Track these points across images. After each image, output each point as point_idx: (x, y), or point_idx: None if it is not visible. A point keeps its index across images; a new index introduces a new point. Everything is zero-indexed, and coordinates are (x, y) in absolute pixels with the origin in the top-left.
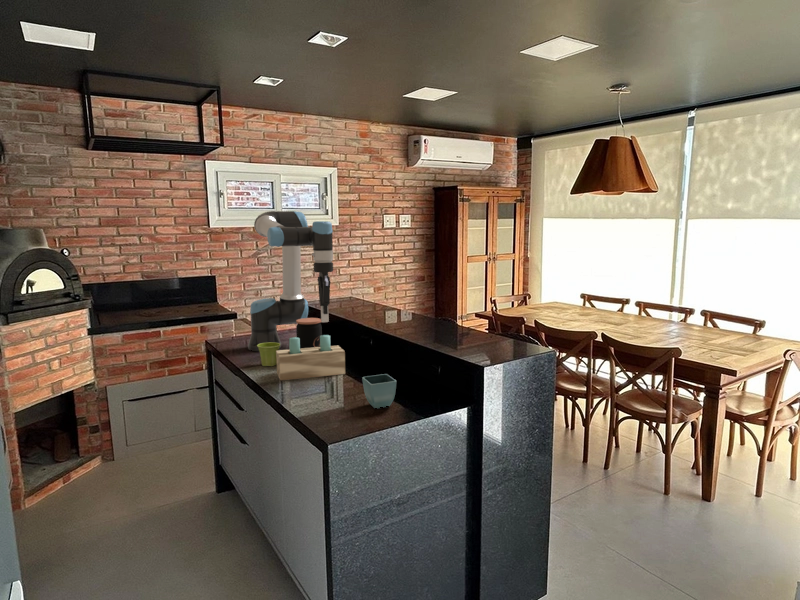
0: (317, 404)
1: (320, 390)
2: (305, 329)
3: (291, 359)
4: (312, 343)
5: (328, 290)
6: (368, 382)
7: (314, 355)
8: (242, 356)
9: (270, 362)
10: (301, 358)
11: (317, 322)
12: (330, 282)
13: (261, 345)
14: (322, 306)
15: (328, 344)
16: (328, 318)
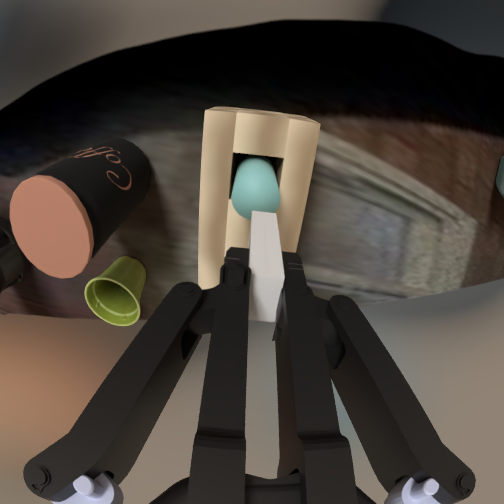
0: (446, 253)
1: (394, 225)
2: (103, 241)
3: None
4: (127, 193)
5: (414, 415)
6: None
7: (299, 230)
8: (60, 297)
9: (144, 278)
10: None
11: (78, 202)
12: (469, 477)
13: (99, 309)
14: (275, 312)
15: (276, 179)
16: (277, 224)
